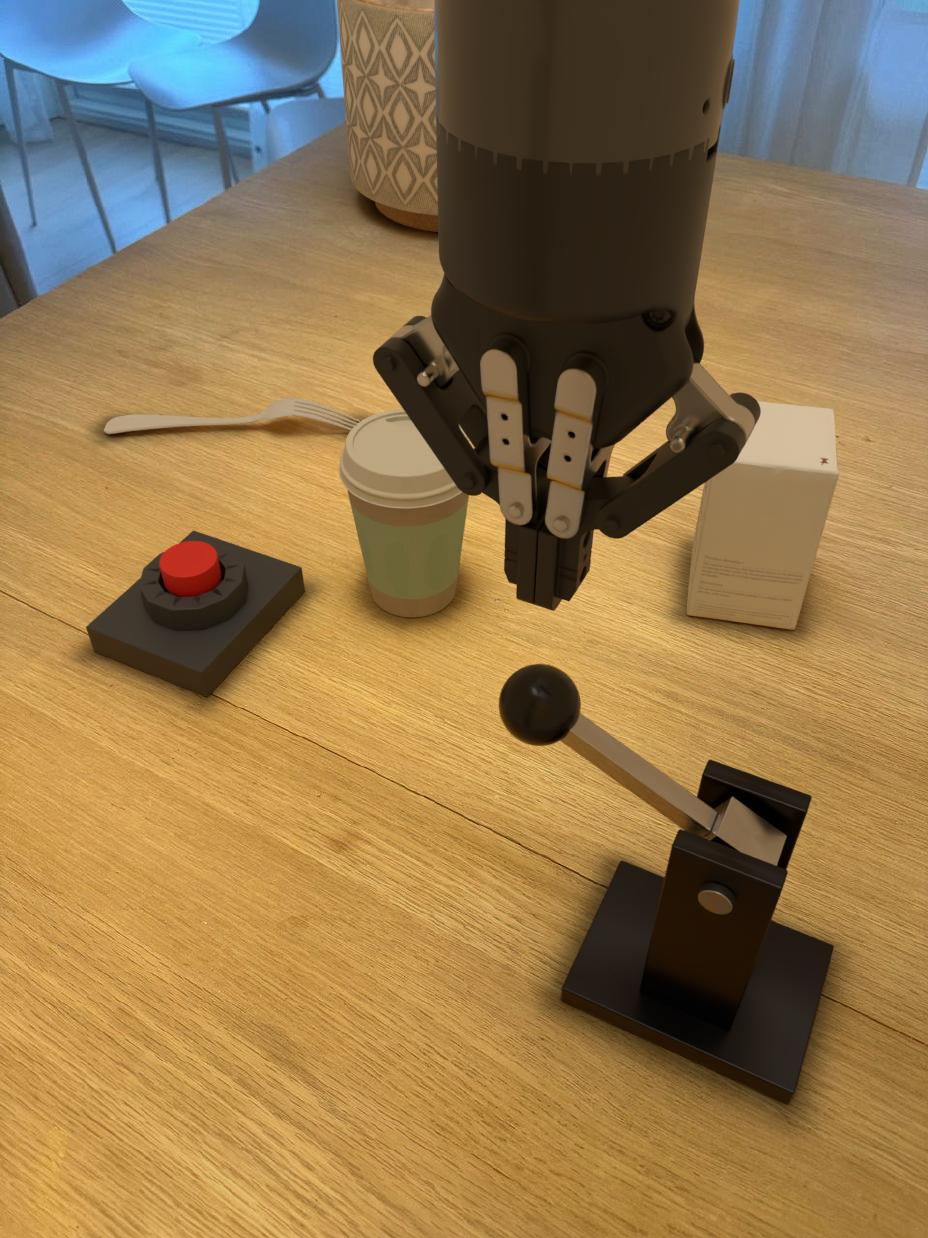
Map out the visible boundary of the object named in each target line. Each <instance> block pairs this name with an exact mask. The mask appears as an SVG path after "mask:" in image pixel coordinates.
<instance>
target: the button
mask: <svg viewBox="0 0 928 1238" xmlns="http://www.w3.org/2000/svg"><path fill="white" fill-rule="evenodd" d="M163 552H164V553H163V554H162V556H161V558H160V561H159V566H160V570H161V573H162V577H163V581H164V585H165V587H166V589H167V590H168V591H169V592H170V593H171V594H173V595H175V596H179V597H196V596H199V595H202V594H204V593H207V592H209V591H212V590H213V589H214V588H215V587H216V586H217V585H218V584H219V582H220V580H221V570H220V565H219V560H218V555H217V552H216V550H215V549H214V548H213V547H212V546H211V545H209V544H207V543H205V542H200V541H187V542H182V543H180V542H178V543H176V544H174V545H171V546H170V547H168V548H167V549H166V550H165V551H163Z"/></svg>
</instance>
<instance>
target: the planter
mask: <svg viewBox="0 0 928 1238" xmlns="http://www.w3.org/2000/svg"><path fill="white" fill-rule="evenodd" d="M336 7H337V21H338V32H339V33H338V34H339V46H340V58H341V59H340V60H341V73H342V75H341V76H342V85H343V86H342V87H343V98H344V99H343V100H344V101H343V102H344V113H345V126H346V127H345V129H346V140H347V153H348V154H347V155H348V165H349V177H350V181H351V184H352V185H353V187H354V188H355V189H356V190H357V191H358V192H359V193H360V194H362V195H363V196H364V197H365V198H368V199H369V200H371V201H372V202H374V204H375V207H376V208H377V209H378V211H379V212H380V213H381V214H382V215H383V216H385V217H386V218H387V219H389V220H391V221H393V222H395V223H398V224H400V225H403V226H406V227H409V228H413V229H417V230H422V231H426V232H434V233H438V188H437V140H436V90H435V43H434V0H336Z"/></svg>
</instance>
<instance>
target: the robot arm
mask: <svg viewBox="0 0 928 1238" xmlns="http://www.w3.org/2000/svg"><path fill="white" fill-rule="evenodd" d="M739 9H740V0H434V43H435V90H436V140H437V188H438V232H437V233H438V235H437V236H438V258H439V263H440V266H441V269H442V271H443V277H442V280H441V283H440V285H439V287H438V288H437V290H436V292H435V294H434V295H433V297H432V301H431V305H430V315H429V316H424V315H415V316H413V317H412V318H411V319H409V320H408V321H407V322H406V323H405V324H404V325H403V326H402V327H400V328H399V329H397V331H396V332H395V333H394V334H392V335H391V337H389V338H388V339H387V340H386V341H384V342H383V344H381V345H380V346H378V347H377V349H375V351H374V352H373V355H372V362H373V367H374V369H375V370H376V372H377V374H378V375H379V376H380V378H381V379H382V381H383V382H384V384H385V385H386V386H387V389H389V391H390V392H391V394H392V395H393V397H394V398H395V399H396V401H397V402H398V404H399V405H400V407H401V409H404V411H405V412H406V414H407V415H408V417H409V418H410V420H411V421H412V422H413V424H414V425H415V427H416V428H417V430H418V431H419V433H420V434H421V435H422V437H423V438H424V440H425V441H426V443H427V444H428V446H429V447H430V448H431V450H432V451H433V453H434V454H435V456H436V457H437V459H438V460H439V461H440V463H441V464H442V466H443V467H444V469H445V470H446V472H447V473H448V474H449V476H450V477H451V479H452V480H453V482H454V483H455V485H456V486H457V487H458V489H459V490H460V491H462V492H463V493H465V494H467V495H469V497H470V496H471V497H477V496H480V495H481V494H483V495H485V496H486V497H488V498H489V499H490V500H493V501H494V502H495V503H497V504H498V506H499V509H500V512H501V514H502V516H503V517H504V519H505V523H504V527H505V529H504V552H503V556H504V559H503V572H504V574H505V577H506V579H507V582H508V583H510V584H513V585H516V589H515V591H516V592H515V594H516V595H515V596H516V597H515V598H516V599H517V600H518V601H521V602H524V603H528V604H530V605H533V606H537V607H541V608H543V609H546V610H549V611H552V612H554V611H556V610H557V609H558V607H559V606H560V604H561V602H562V601H566V602H570V601H571V600H572V599H573V597H574V596H575V595H576V593H577V591H578V590H579V588H580V586H581V585H582V583H583V582H584V580H585V579H586V576H587V575H588V574H589V572H590V570H591V561H592V552H593V551H592V549H593V543H594V531H596V530H597V531H598V530H599V531H600V533H601V534H603V535H604V536H606V537H607V538H610V539H617V540H618V539H622V538H625V537H627V536H628V535H630V534H631V533H633V532H634V531H635V530H637V529H639V528H640V527H641V526H643V525H644V524H646V523H647V522H649V521H651V520H652V519H654V518H655V517H657V515H659V514H661V513H662V512H663V511H666V510H667V509H668V508H670V507H671V506H673V505H674V504H675V503H678V502H679V501H680V500H682V499H683V498H685V497H686V496H687V495H689V494H690V493H692V492H693V491H695V490H696V489H698V488H700V487H701V486H702V485H704V483H705V482H706V481H708V480H709V479H711V478H712V477H714V476H715V475H717V474H718V473H720V472H721V471H723V470H724V469H726V468H727V467H729V466H730V465H732V464H733V463H734V462H735V461H736V460H737V458H738V456H739V454H740V452H741V451H742V449H743V447H744V446H745V444H746V442H747V440H748V439H749V437H750V435H751V433H752V431H753V429H754V427H755V425H756V423H757V421H758V419H759V417H760V413H761V409H760V406H759V403H758V402H757V401H758V400H757V399H756V398H755V397H754V396H753V395H751V394H749V393H746V392H734V393H733V392H732V393H731V394H729V393H728V392H727V391H726V390H725V389H724V388H723V386H721V384H720V383H719V382H718V381H717V380H716V379H715V378H714V377H713V376H712V375H711V374H710V373H709V371H707V369H706V368H705V367H704V366H703V365H702V363H701V362H702V359H703V357H704V352H705V339H704V334H703V332H702V329H701V327H700V324H699V322H698V318H697V313H696V308H695V306H696V305H695V298H696V290H697V285H698V279H699V278H698V277H699V274H700V273H699V272H700V266H701V259H702V254H703V247H704V241H705V233H706V227H707V221H708V215H709V210H710V209H709V207H710V201H711V196H712V188H713V182H714V176H715V168H716V162H717V157H718V149H719V143H720V136H721V132H722V131H721V130H722V123H723V117H724V112H725V109H726V106H727V104H729V102H730V97H731V90H732V84H733V80H734V79H733V77H734V71H735V64H736V59H735V58H734V45H735V40H736V34H737V27H738V26H737V25H738V19H739V18H738V17H739ZM670 399H672V400H673V402H674V405H675V412H674V413H673V416H672V417H671V419H670V420H669V421H668V423H667V424H666V427H665V436H666V439H667V441H665V442H664V443H662V444H661V445H660V446H659V447H657V448H656V449H655V450H653V451H652V452H651V453H649V454H648V455H647V456H645V457H644V458H643V459H641V460H639V461H638V462H637V463H636V464H634V465H633V466H631V467H630V468H629V469H628V470H625V472H624V473H623V474H622V476H619V475H617V476H608V472H609V468H610V462H611V458H612V454H613V450H614V449H615V446H616V444H618V443H619V442H621V441H622V440H624V439H625V438H626V437H627V436H628V435H629V434H631V433H632V432H633V431H634V430H635V429H636V428H638V427H639V426H640V425H641V424H642V423H644V422H645V421H646V420H647V419H649V417H650V416H652V415H653V414H654V413H655V412H656V411H658V410H659V409H661V407H662V406H664V404H666V403H668V401H669V400H670ZM459 425H460V427H461V428H462V430H463V431H464V433H465V434H466V436H467V437H468V440H469V441H468V440H467V438H466V437H465V435H464V434H463V432H462V431H461V429H460V427H459Z"/></svg>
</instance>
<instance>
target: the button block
mask: <svg viewBox="0 0 928 1238" xmlns="http://www.w3.org/2000/svg"><path fill="white" fill-rule="evenodd" d="M187 541H200V542H205V543H207V544H209V545H211V546H212V547H213V548H214V549H215V550H216V552H217V555H218V560H219V565H220V570H221V580H220V582H219V584H218V585H217V586H216V587H215V588H214V589H213V590H212V591H209V592H207V593H204V594H202V595H199V596H196V597H179V596H175V595H173V594H171V593H170V592H169V591H168V590H167V589H166V587H165V585H164V581H163V577H162V573H161V570H160V566H159V561H160V558H161V556H162V554H163V553H164V552H165V551H162V552H161V553H159V554H158V555H156V556H155V557H154V558H153V559H152V560H151V561H150V562H149V563H147V564H146V565H145V566H144V567H143V568H142V572H141V576H140V578H138V579H137V580H136V581H135V582H134V583H133V584H131V586H130V587H129V588H127V589H126V590H125V591H124V592H123V593H122V594H121V595H120V596H119V597H117V598H116V599H115V600H114V601H113V602H111V604H109V605H108V606H107V607H106V608H105V609H104V610H103V611H102V612H100V614H99V615H97V616H96V617H95V618H93V620H92V621H91V622H90V623H88V625H86V627H85V629H86V632H87V635H88V638H89V641H90V643H91V646H92V649H93V652H94V653H97V654H100V655H102V656H104V657H107V658H109V659H112V660H114V661H115V662H116V661H117V662H118V663H119V662H120V663H121V664H124V665H126V666H129V667H131V668H134V669H136V670H139V671H142V672H144V673H146V674H149V675H151V676H154V677H156V678H159V679H161V680H164V681H167V682H169V683H171V684H174V685H176V686H179V687H180V688H184V689H186V690H188V691H192V692H193V693H196V694H198V695H201V696H204V697H206V698H208V697H210V696H211V694H212V693H214V691H215V690H216V689H217V688H218V687H219V686H220V684H221V683H223V681H225V679H226V678H227V677H228V676H229V675H230V674H231V672H233V671H234V669H235V668H236V667H237V666H238V665H239V664H240V663H241V662H242V661H243V659H245V658H246V656H247V655H248V654H249V653H250V652H251V651H252V650H253V649H254V647H256V645H257V644H259V642H260V641H261V640H262V639H263V638H264V637H265V635H267V634H268V632H270V631H271V629H273V627H274V626H275V625H276V624H277V623H278V622H279V620H281V618H282V617H284V615H285V614H286V613H287V612H288V611H289V610H290V609H291V607H292V606H293V605H295V604H296V602H297V601H298V600H299V599H300V598H301V597H302V596H303V595H304V594H305V593H306V587H305V581H304V574H303V573H304V572H303V568H302V566H299V565H297V564H293V563H290V562H288V561H285V560H282V559H278V558H276V557H273V556H270V555H267V554H264V553H261V552H259V551H255V550H252V549H251V548H246V547H244V546H241V545H238V544H235V543H232V542H229V541H226V540H223V539H220V538H217V537H215V536H212V535H209V534H205V533H203V532H199V531H197V530H192V531H190V533H188V534H187V535H186V536H185V537H184V538H183V539H182V540H181V541H180V542H179V543H182V542H187Z"/></svg>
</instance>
